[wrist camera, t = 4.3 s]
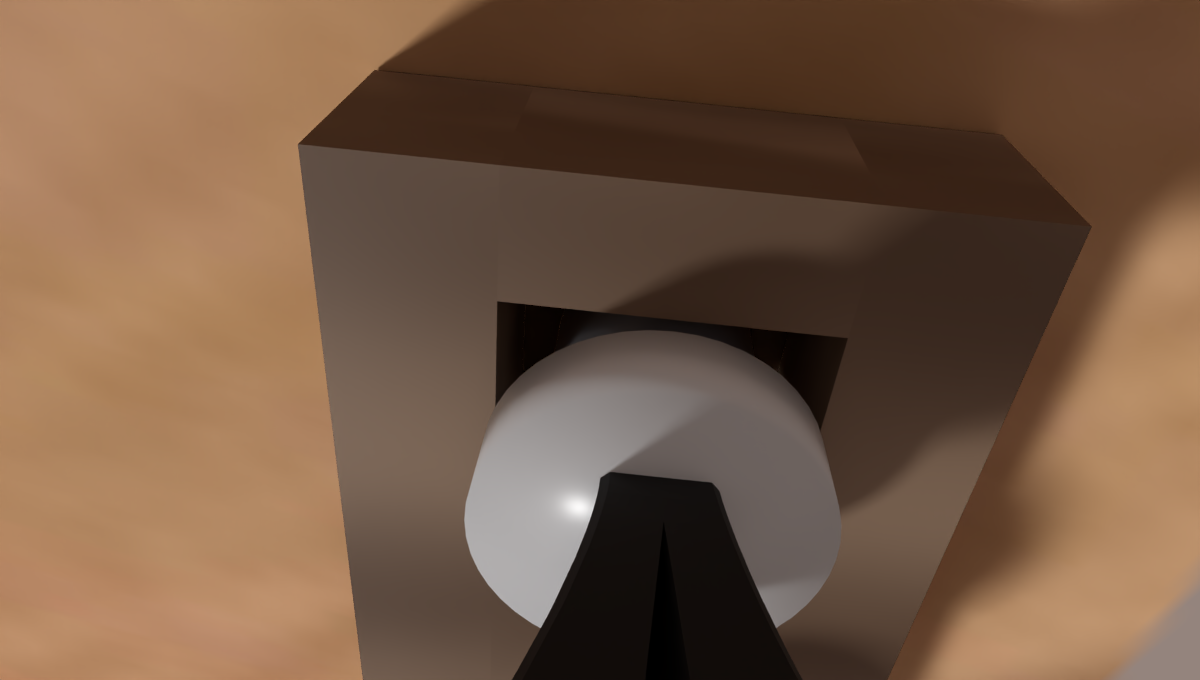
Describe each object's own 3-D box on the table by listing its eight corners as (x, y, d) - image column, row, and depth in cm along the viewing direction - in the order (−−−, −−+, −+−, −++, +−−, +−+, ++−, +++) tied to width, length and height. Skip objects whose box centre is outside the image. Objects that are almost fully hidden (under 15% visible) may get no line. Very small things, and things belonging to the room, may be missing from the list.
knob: (764, 460, 15) (796, 673, 12) (513, 433, 15) (465, 637, 12) (822, 233, 13) (887, 414, 9) (521, 201, 13) (463, 368, 9)
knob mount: (777, 757, 21) (792, 889, 18) (416, 717, 21) (383, 844, 18) (1001, 134, 12) (1091, 227, 9) (374, 70, 12) (298, 144, 9)
